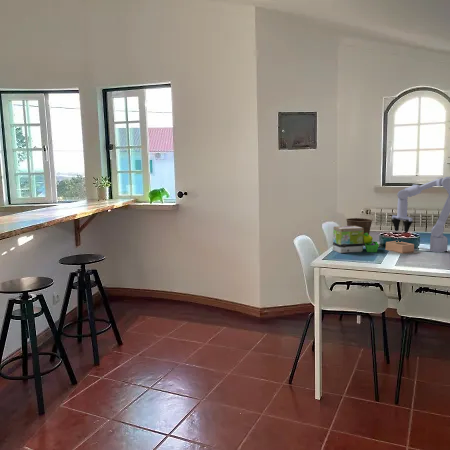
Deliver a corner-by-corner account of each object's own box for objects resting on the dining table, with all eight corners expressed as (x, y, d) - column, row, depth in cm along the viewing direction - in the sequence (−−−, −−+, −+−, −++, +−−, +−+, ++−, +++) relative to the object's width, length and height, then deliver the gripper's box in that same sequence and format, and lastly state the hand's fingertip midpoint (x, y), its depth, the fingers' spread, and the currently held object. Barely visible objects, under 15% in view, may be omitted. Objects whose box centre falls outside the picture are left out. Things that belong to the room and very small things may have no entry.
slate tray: (398, 248, 283) (398, 247, 283) (420, 253, 268) (421, 252, 268) (383, 250, 278) (383, 249, 278) (405, 255, 263) (405, 254, 263)
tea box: (340, 253, 271) (341, 228, 269) (332, 250, 281) (332, 226, 278) (363, 251, 275) (364, 227, 273) (354, 248, 285) (355, 225, 282)
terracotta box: (397, 248, 281) (397, 240, 281) (413, 252, 270) (414, 244, 269) (385, 249, 278) (385, 242, 277) (402, 253, 266) (402, 245, 265)
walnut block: (402, 249, 274) (403, 243, 273) (408, 251, 270) (408, 244, 269) (397, 250, 272) (397, 243, 271) (402, 251, 268) (403, 244, 268)
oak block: (396, 248, 278) (396, 241, 278) (400, 249, 275) (401, 242, 274) (390, 248, 277) (391, 242, 276) (395, 250, 273) (396, 243, 273)
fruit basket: (379, 253, 269) (379, 234, 268) (363, 253, 271) (363, 234, 269) (376, 249, 280) (377, 231, 279) (361, 249, 282) (362, 231, 281)
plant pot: (368, 242, 306) (369, 217, 303) (374, 246, 290) (375, 221, 287) (343, 241, 307) (344, 217, 305) (347, 246, 291) (348, 221, 289)
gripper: (388, 208, 285) (387, 230, 287) (406, 211, 272) (405, 233, 274) (397, 208, 288) (396, 229, 289) (415, 210, 274) (414, 233, 276)
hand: (401, 231), depth 282 cm, fingers open, 7 cm apart
